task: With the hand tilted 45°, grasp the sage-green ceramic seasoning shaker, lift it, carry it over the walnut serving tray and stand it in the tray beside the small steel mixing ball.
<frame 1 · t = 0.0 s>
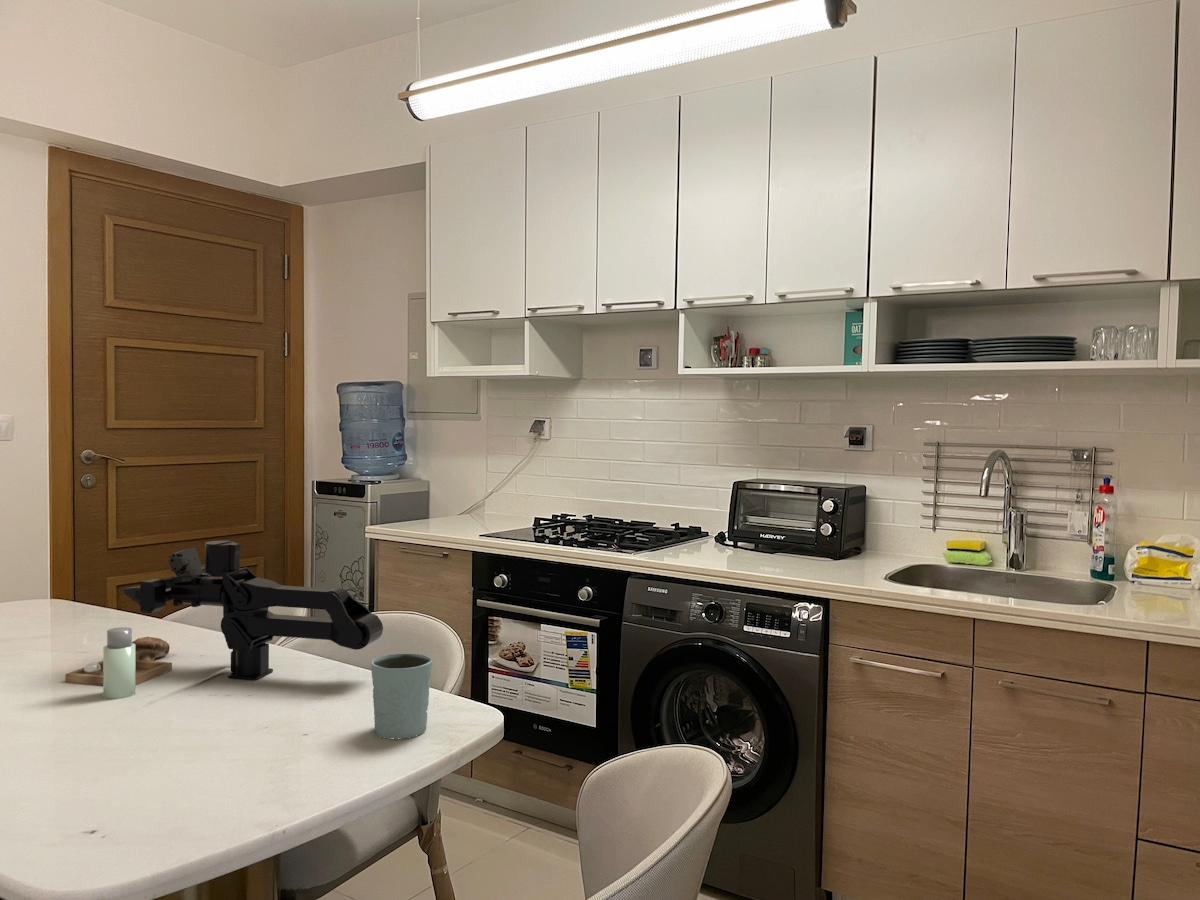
hand: (140, 587, 186), 17 cm above the table, fingers open, 9 cm apart
shaker: (119, 699, 165), on the table
grey-green cup: (400, 731, 153), on the table
ball: (92, 677, 175), point 1 cm above the table, touching tray
mushroom: (148, 664, 189), on the table
tray: (120, 680, 176), on the table
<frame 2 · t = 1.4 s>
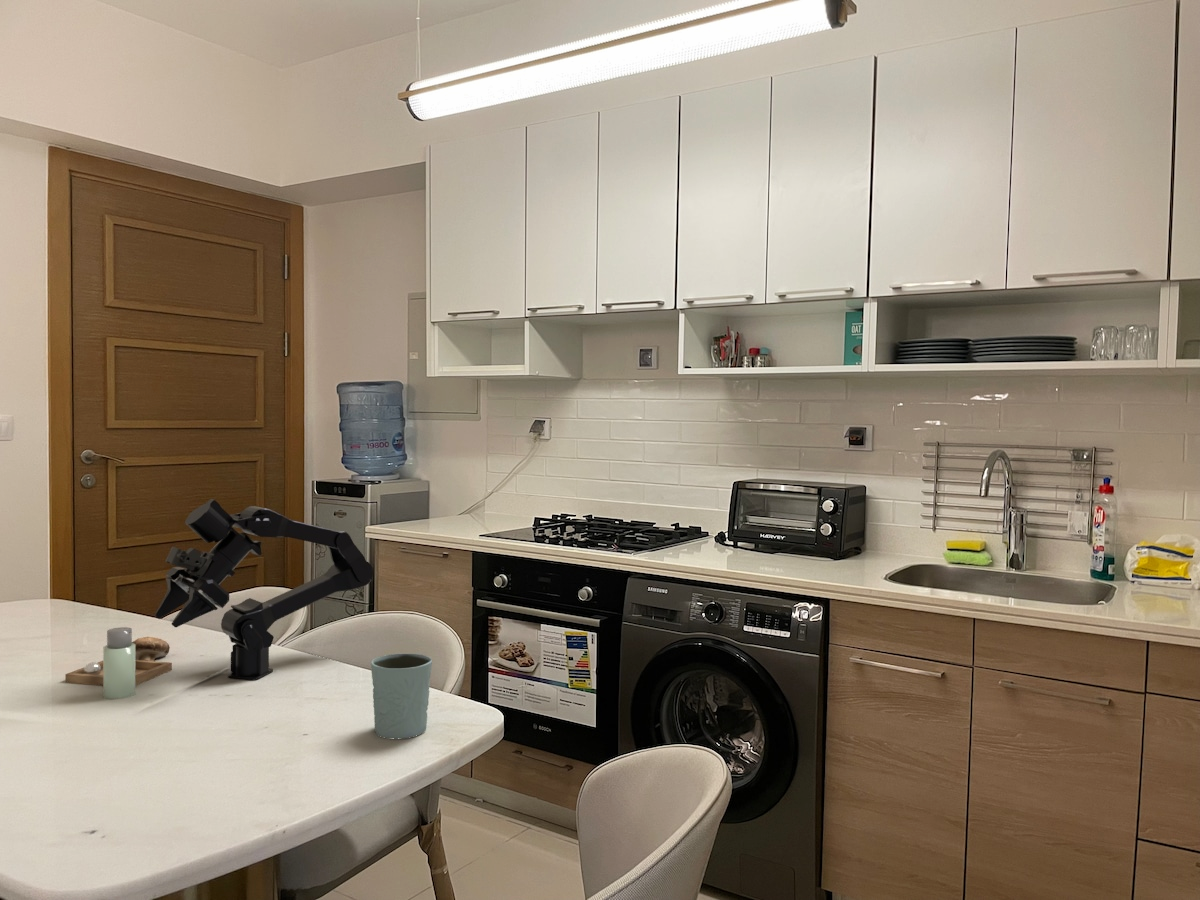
hand: (164, 621, 170), 13 cm above the table, fingers open, 9 cm apart
nothing on the table moved.
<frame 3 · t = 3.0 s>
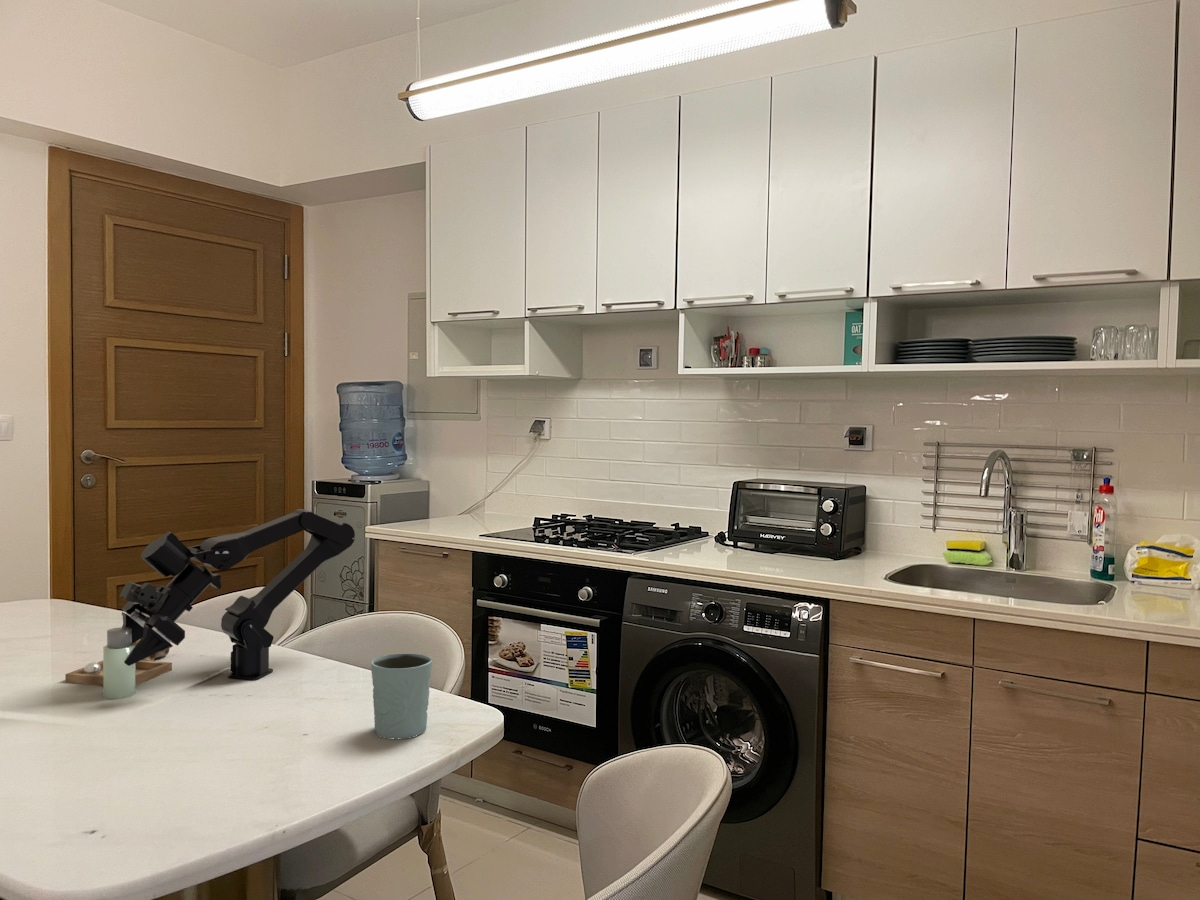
hand: (118, 658, 165), 8 cm above the table, fingers open, 9 cm apart
nothing on the table moved.
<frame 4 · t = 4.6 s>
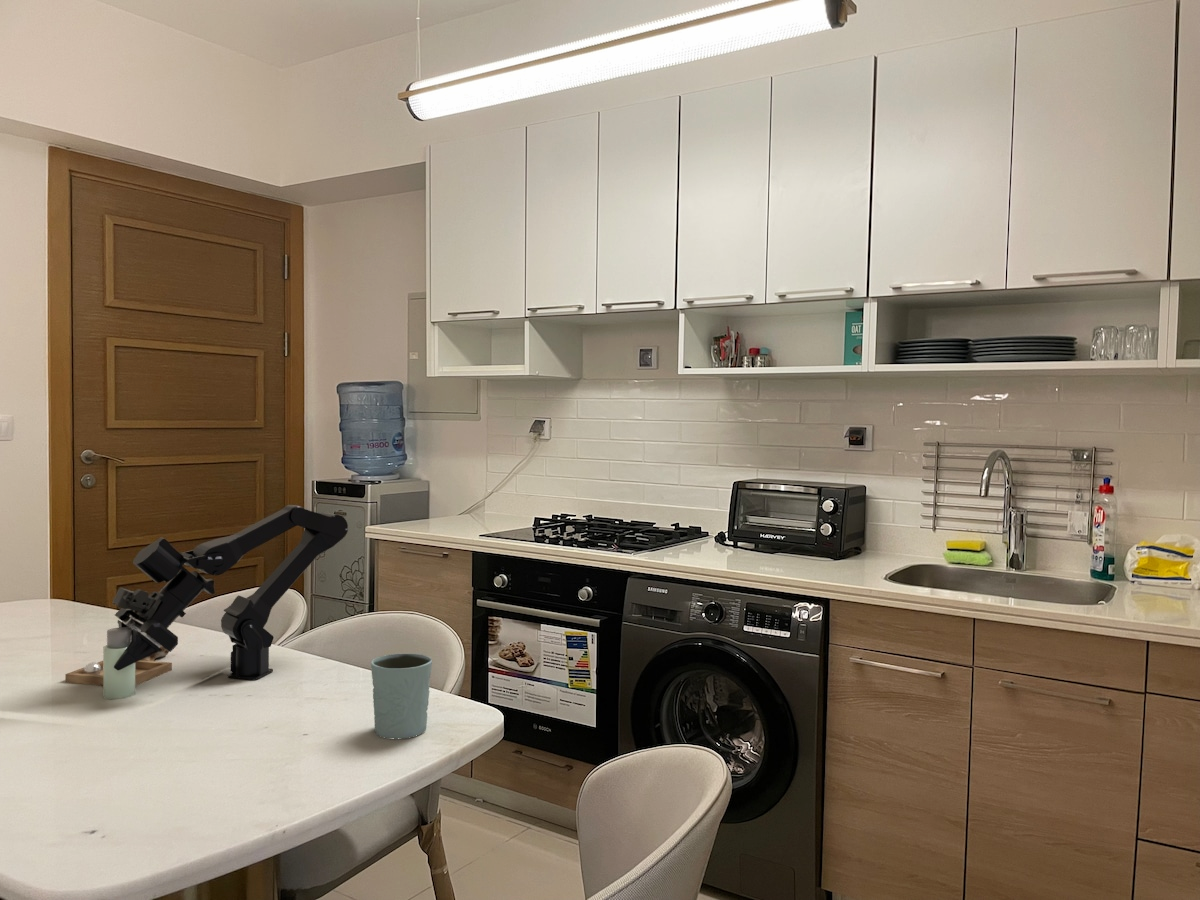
hand: (111, 665, 164), 7 cm above the table, fingers closed on shaker, 5 cm apart
shaker: (119, 699, 165), on the table, touching gripper
everything else where it was.
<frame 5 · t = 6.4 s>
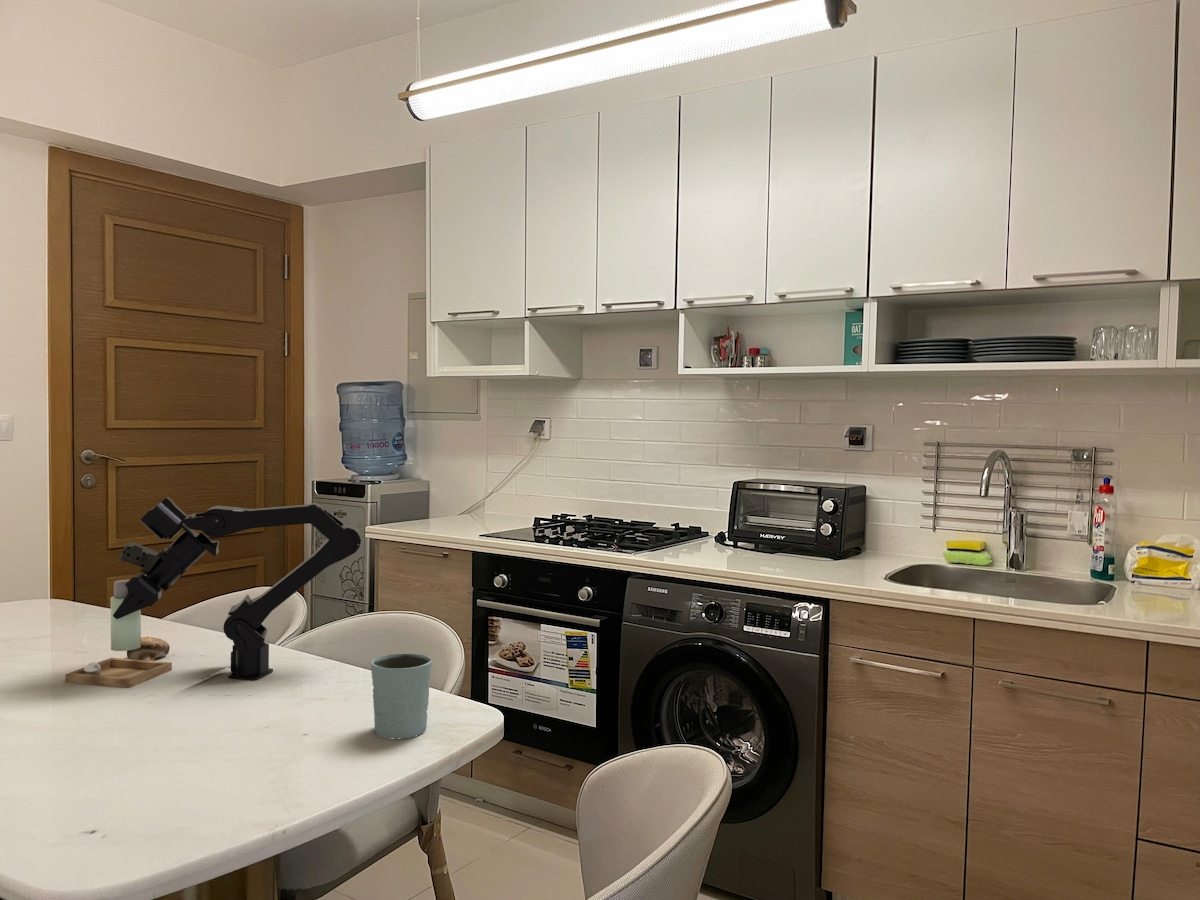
hand: (118, 614, 175), 13 cm above the table, fingers closed on shaker, 5 cm apart
shaker: (125, 647, 175), point 7 cm above the table, touching gripper
everything else where it was.
when the fingers open (9 cm above the table, at t = 8.2 s): shaker drops 1 cm, resting on tray.
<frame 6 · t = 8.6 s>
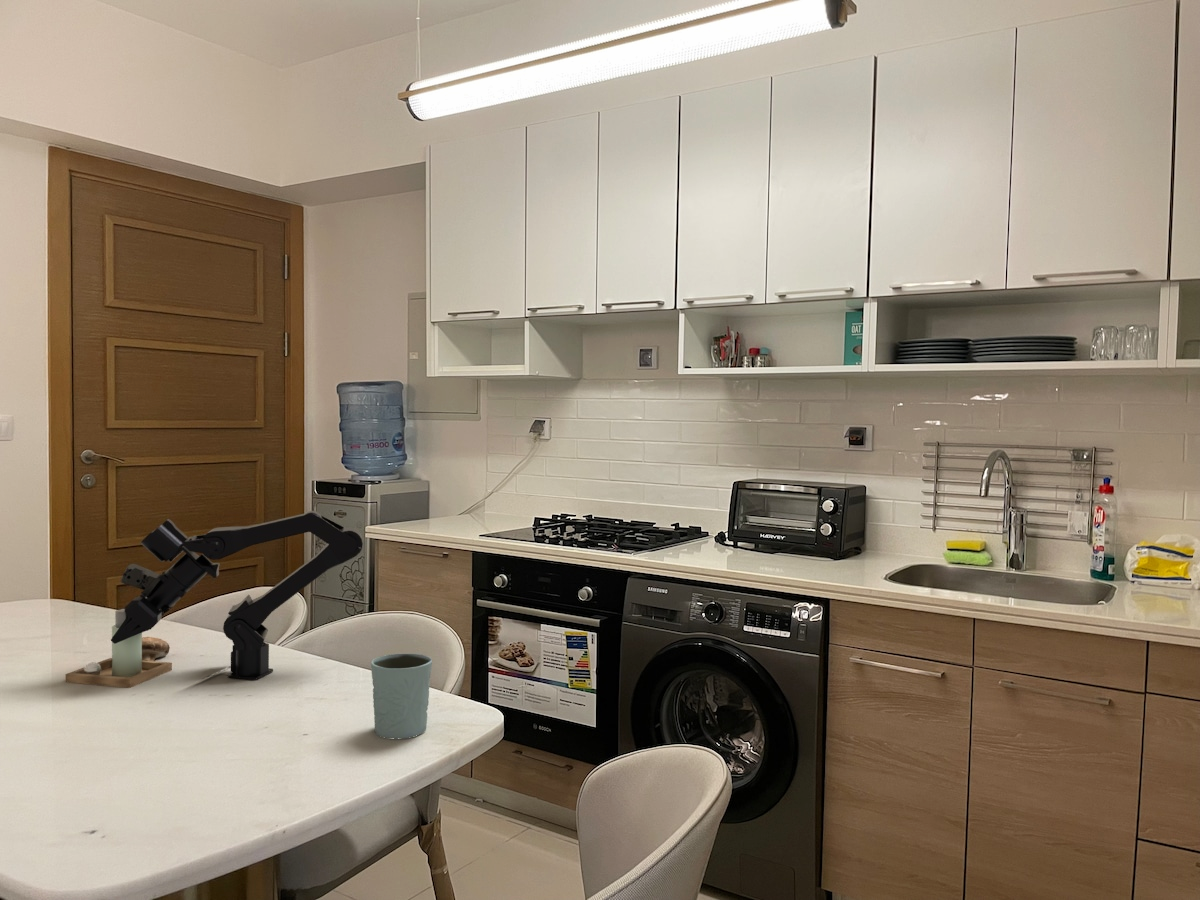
hand: (118, 636, 175), 9 cm above the table, fingers open, 9 cm apart
shaker: (127, 676, 176), point 1 cm above the table, touching tray
everything else where it was.
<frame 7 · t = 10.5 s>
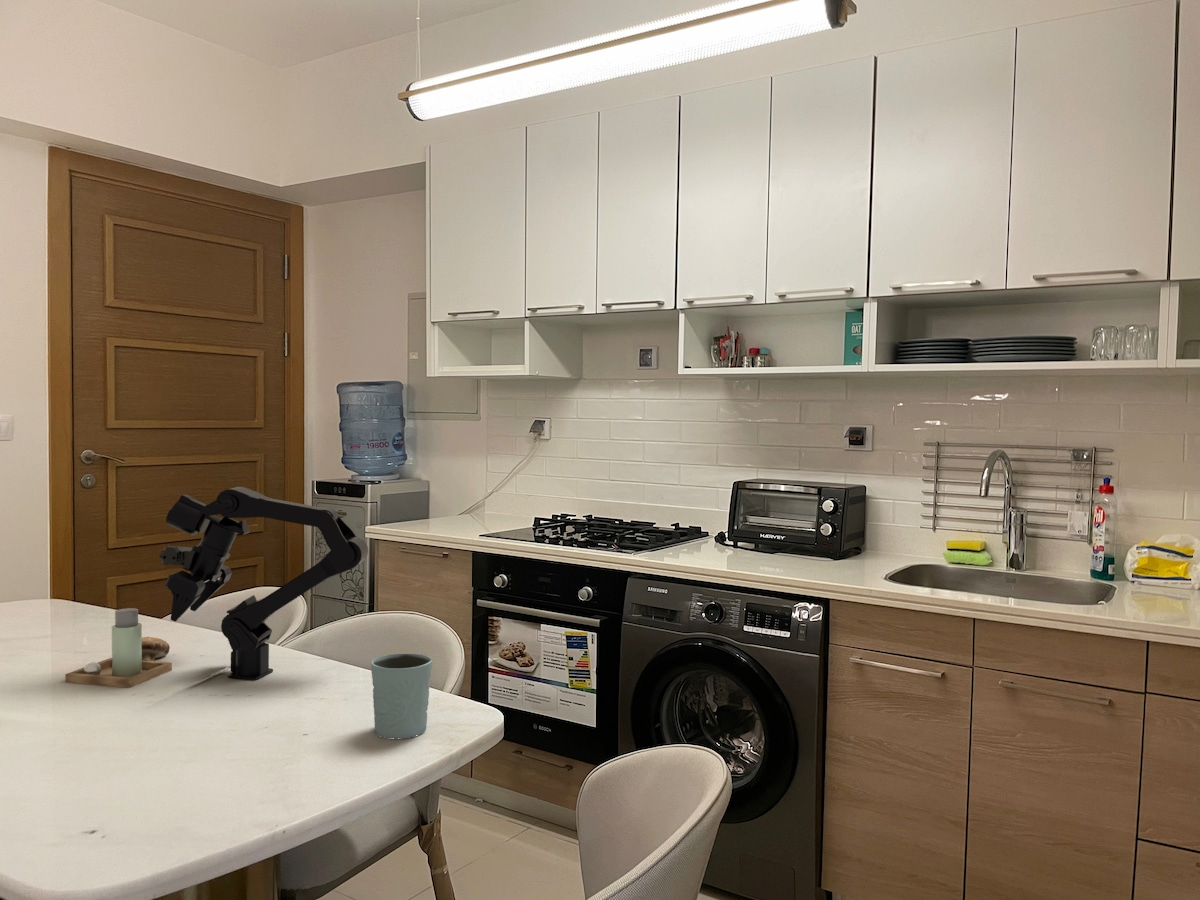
hand: (183, 615, 181), 12 cm above the table, fingers open, 9 cm apart
nothing on the table moved.
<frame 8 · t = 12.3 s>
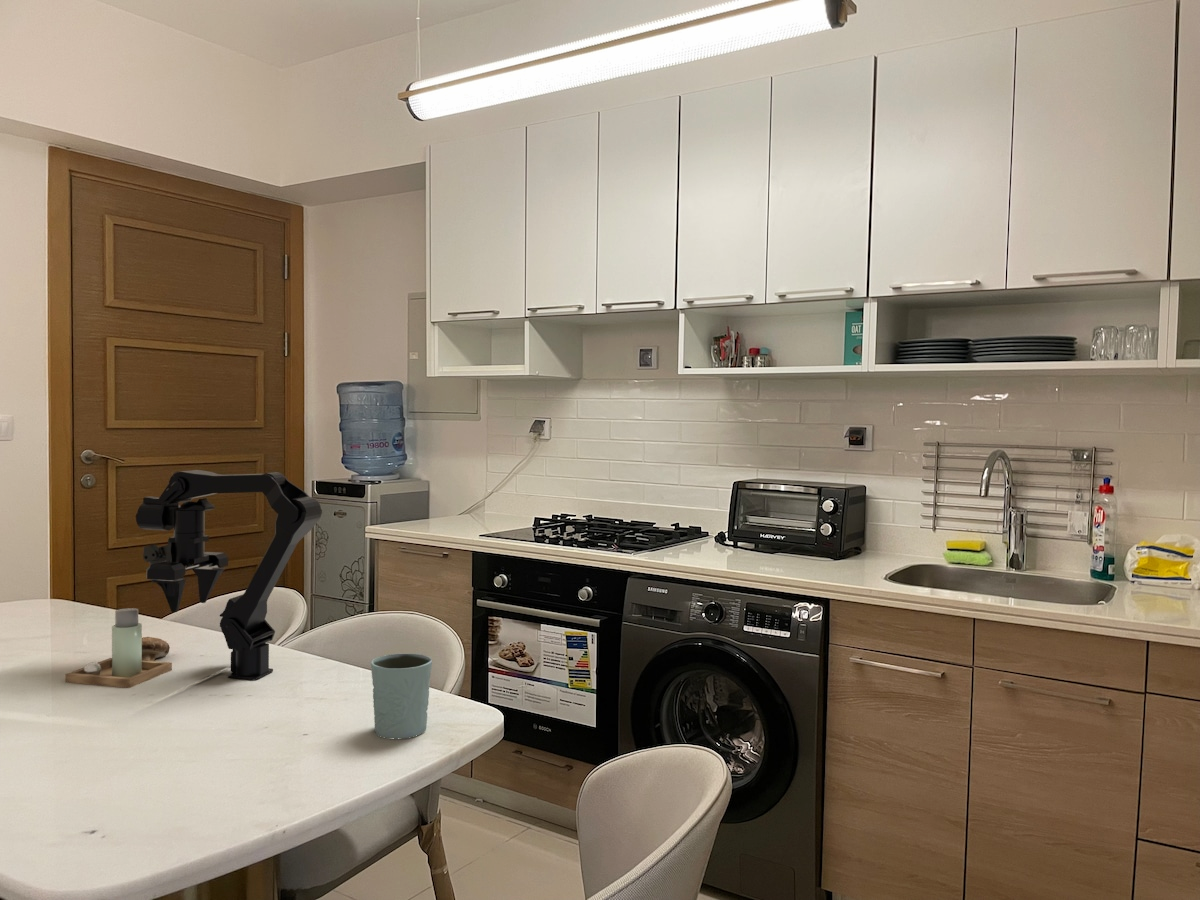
hand: (188, 607, 184), 13 cm above the table, fingers open, 9 cm apart
nothing on the table moved.
at the end: shaker inside the target area on the tray (1.5 cm from its centre), point 1.0 cm above the tray's base; shaker tilted 1°; the gripper is holding nothing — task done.
